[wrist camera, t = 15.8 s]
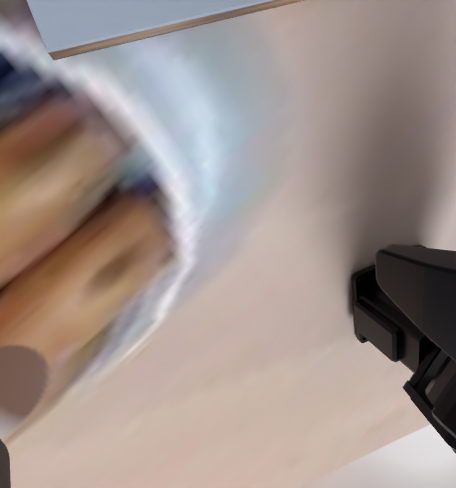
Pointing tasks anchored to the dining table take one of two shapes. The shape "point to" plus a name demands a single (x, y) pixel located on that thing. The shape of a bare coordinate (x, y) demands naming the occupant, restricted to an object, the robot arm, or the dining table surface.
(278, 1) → the walnut box
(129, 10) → the slate flap
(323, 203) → the dining table surface
